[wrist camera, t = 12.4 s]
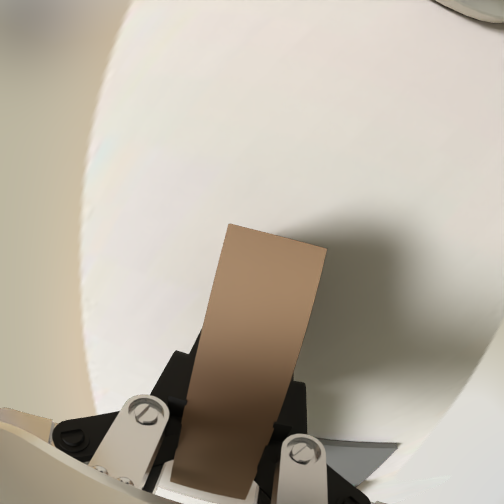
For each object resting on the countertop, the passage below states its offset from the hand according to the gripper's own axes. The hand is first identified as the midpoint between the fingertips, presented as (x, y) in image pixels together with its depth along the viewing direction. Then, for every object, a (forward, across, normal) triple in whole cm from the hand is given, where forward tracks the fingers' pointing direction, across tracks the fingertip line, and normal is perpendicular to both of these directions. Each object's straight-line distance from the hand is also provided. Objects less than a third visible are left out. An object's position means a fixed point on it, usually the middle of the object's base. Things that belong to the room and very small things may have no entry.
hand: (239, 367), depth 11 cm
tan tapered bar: (0, 0, +2) cm, 2 cm away
